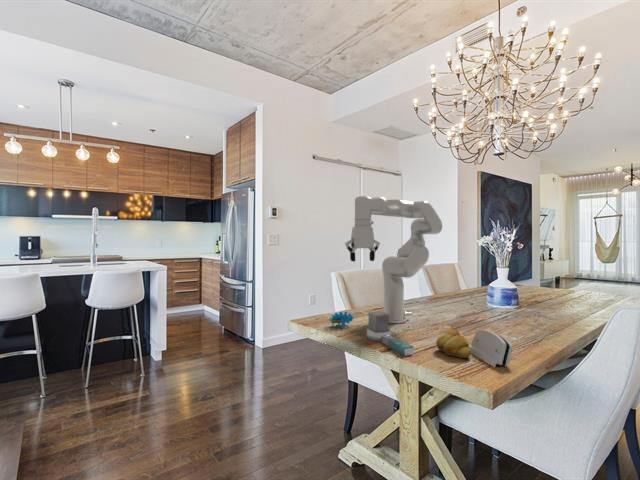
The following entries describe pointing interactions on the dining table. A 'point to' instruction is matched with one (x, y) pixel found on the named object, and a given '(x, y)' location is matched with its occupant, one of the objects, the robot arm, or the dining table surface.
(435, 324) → the dining table surface
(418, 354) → the dining table surface
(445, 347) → the bread roll
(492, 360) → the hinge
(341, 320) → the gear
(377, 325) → the socket
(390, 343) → the ratchet
